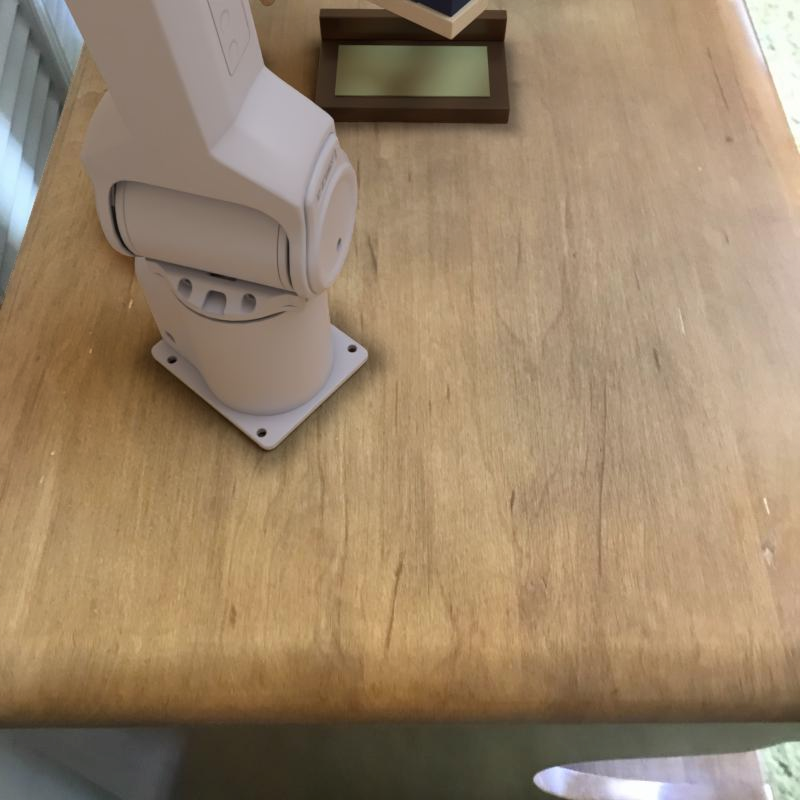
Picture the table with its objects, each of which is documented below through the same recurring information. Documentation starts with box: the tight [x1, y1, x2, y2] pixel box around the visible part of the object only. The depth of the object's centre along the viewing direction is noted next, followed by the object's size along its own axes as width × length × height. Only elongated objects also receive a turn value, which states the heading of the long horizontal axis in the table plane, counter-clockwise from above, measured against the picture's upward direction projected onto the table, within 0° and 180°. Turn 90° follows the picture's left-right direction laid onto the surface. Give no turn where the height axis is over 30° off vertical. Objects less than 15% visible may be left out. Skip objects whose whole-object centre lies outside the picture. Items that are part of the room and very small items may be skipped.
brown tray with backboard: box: [314, 8, 511, 124], centre depth 57 cm, size 13×8×3 cm, turn 89°
